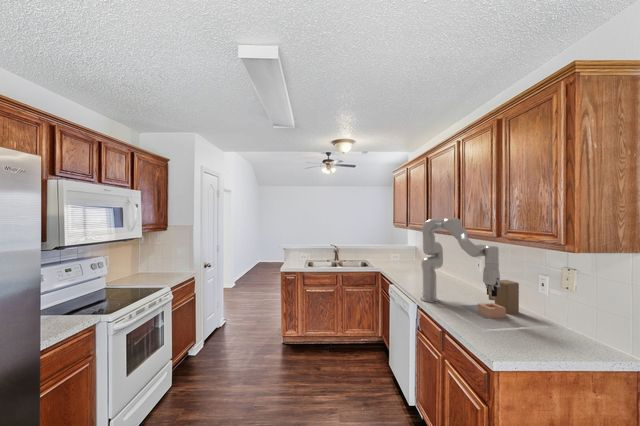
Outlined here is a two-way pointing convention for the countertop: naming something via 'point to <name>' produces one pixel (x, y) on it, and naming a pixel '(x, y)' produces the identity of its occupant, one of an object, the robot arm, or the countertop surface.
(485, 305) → the terracotta box
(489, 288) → the birch dowel
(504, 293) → the wooden block
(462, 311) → the countertop surface
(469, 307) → the charcoal mat
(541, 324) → the countertop surface
